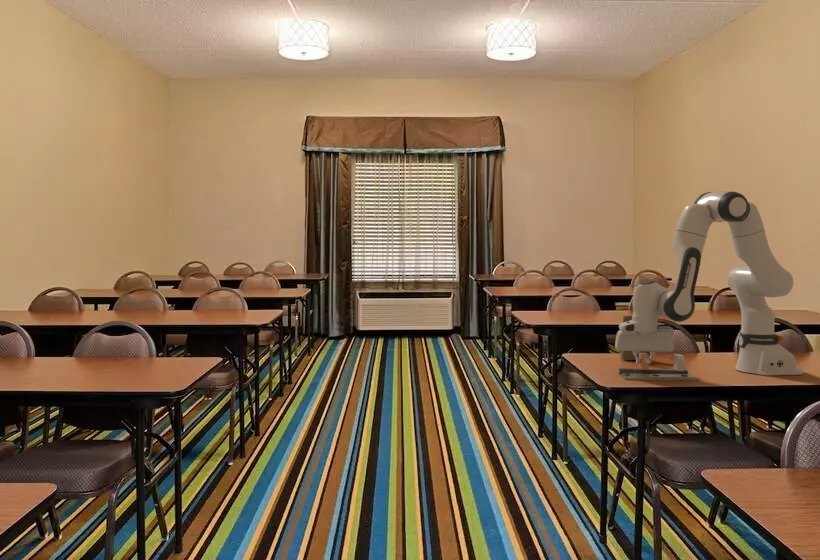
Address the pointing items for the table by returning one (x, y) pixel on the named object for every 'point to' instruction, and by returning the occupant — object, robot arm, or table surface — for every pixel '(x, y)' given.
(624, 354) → the brown angular bracket
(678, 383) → the table surface
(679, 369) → the rail
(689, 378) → the hole strip
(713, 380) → the table surface
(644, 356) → the block
